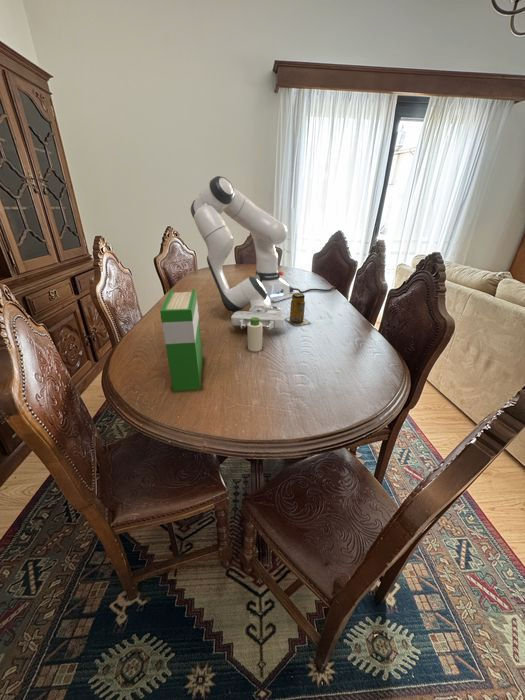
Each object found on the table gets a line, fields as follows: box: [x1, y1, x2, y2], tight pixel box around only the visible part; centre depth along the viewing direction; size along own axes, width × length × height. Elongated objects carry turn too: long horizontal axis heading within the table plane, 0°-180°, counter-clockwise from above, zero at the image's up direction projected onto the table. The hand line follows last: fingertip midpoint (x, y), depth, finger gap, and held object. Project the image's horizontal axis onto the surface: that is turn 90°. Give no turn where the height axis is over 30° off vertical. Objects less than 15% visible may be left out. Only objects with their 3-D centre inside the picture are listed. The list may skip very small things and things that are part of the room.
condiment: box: [285, 292, 310, 326], centre depth 124 cm, size 7×8×12 cm
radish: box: [246, 317, 263, 352], centre depth 101 cm, size 5×5×12 cm
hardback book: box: [159, 288, 204, 392], centre depth 83 cm, size 18×7×24 cm, turn 8°
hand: (255, 327), depth 104 cm, fingers open, 8 cm apart
